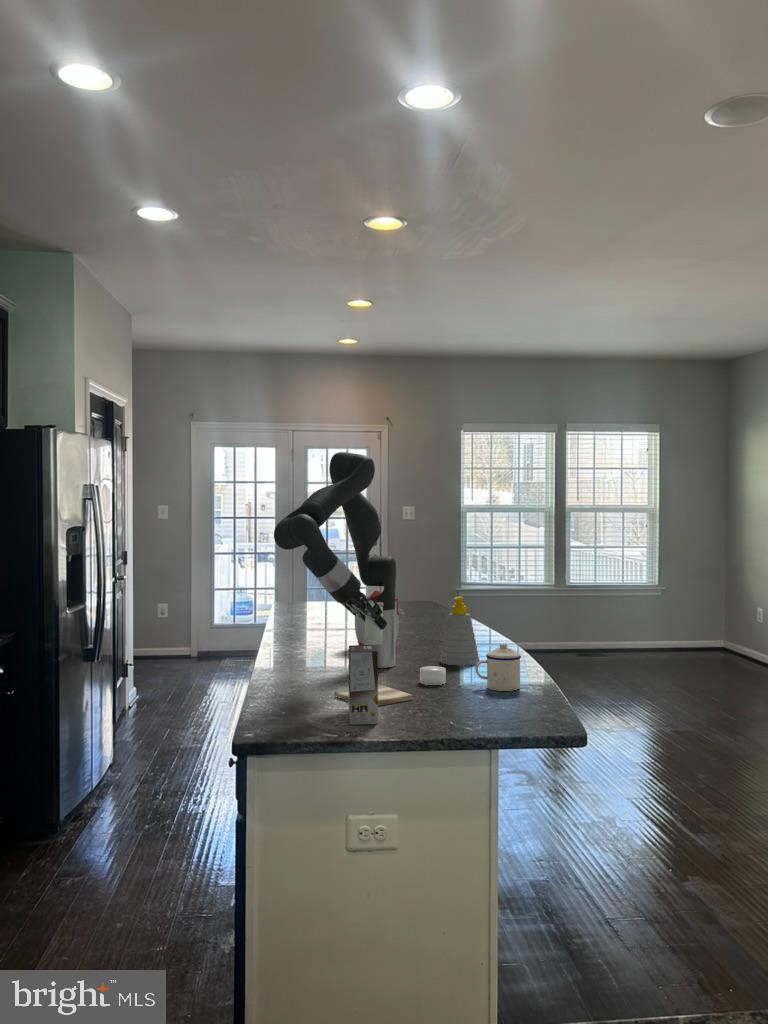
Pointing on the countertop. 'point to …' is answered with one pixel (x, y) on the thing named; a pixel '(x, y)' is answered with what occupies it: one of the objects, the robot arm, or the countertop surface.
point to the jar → (373, 630)
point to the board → (382, 695)
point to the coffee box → (363, 684)
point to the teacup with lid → (502, 669)
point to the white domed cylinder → (432, 675)
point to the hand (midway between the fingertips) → (378, 625)
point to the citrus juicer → (361, 624)
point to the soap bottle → (459, 638)
